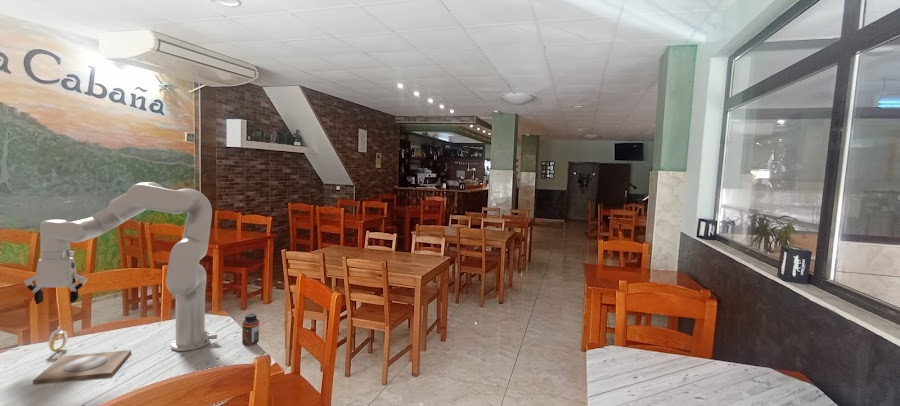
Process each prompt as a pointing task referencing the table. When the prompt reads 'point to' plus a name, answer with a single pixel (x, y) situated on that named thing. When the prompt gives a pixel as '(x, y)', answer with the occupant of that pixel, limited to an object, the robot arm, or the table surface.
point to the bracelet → (51, 342)
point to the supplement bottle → (250, 329)
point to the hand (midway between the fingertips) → (56, 302)
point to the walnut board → (83, 366)
